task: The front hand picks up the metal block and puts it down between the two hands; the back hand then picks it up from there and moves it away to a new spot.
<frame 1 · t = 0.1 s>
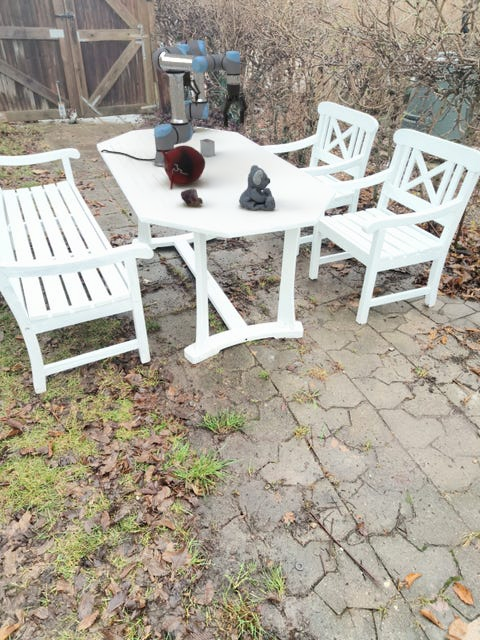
front hand: (234, 125, 259), 28 cm above the table, tool pointing down, fingers open, 13 cm apart
back hand: (186, 105, 314), 28 cm above the table, tool pointing down, fingers open, 13 cm apart
block: (207, 154, 312), on the table
red pot: (185, 182, 262), on the table
koala plush: (256, 206, 229), on the table
rock: (191, 204, 231), on the table
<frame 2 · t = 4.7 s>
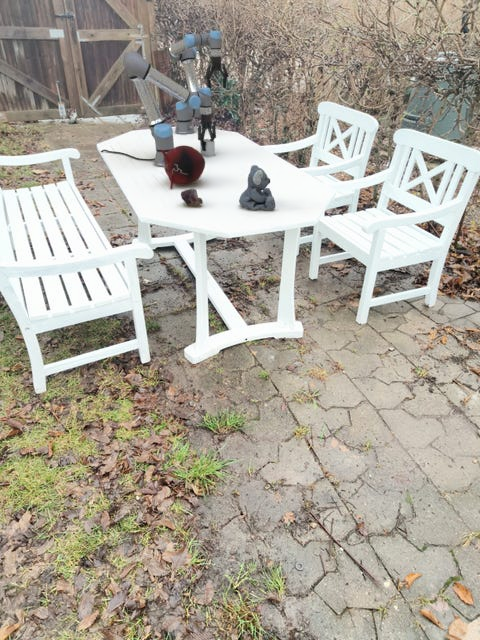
front hand: (207, 149, 310), 3 cm above the table, tool pointing down, fingers closed on block, 6 cm apart
back hand: (217, 89, 336), 34 cm above the table, tool pointing down, fingers open, 13 cm apart
block: (207, 154, 312), on the table, touching front hand
everything else where it was.
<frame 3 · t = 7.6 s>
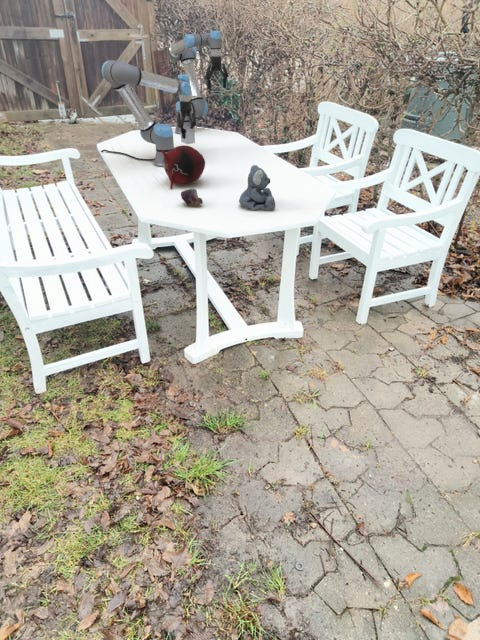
front hand: (187, 137, 312), 10 cm above the table, tool pointing down, fingers closed on block, 6 cm apart
back hand: (217, 89, 336), 34 cm above the table, tool pointing down, fingers open, 13 cm apart
block: (188, 142, 314), point 7 cm above the table, touching front hand
everything else where it was.
when the front hand's fingers open (5 cm above the table, at t = 10.5 s): block drops 1 cm, on the table.
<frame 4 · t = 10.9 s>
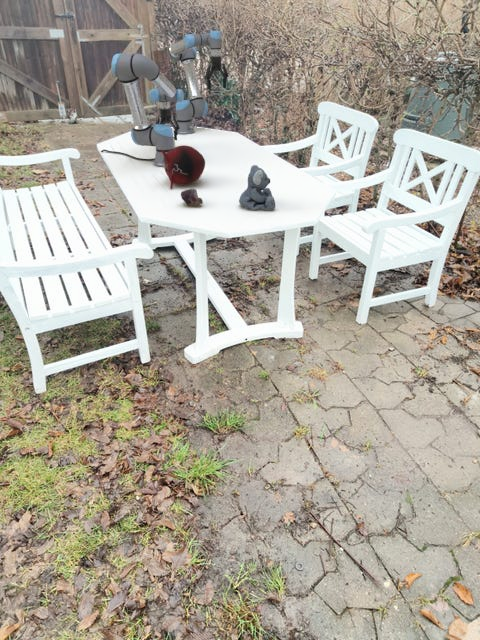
front hand: (168, 141, 320), 6 cm above the table, tool pointing down, fingers open, 12 cm apart
back hand: (217, 89, 336), 34 cm above the table, tool pointing down, fingers open, 13 cm apart
block: (168, 150, 323), on the table
everything else where it was.
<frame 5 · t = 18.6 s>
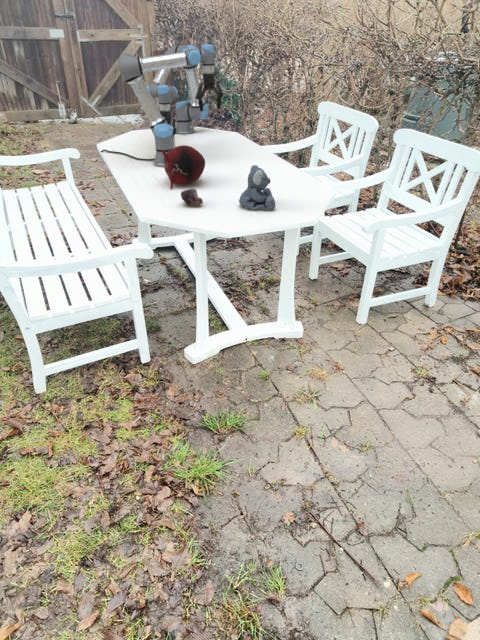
front hand: (210, 109, 294), 29 cm above the table, tool pointing down, fingers open, 13 cm apart
back hand: (168, 145, 321), 3 cm above the table, tool pointing down, fingers closed on block, 6 cm apart
block: (168, 150, 323), on the table, touching back hand
everything else where it was.
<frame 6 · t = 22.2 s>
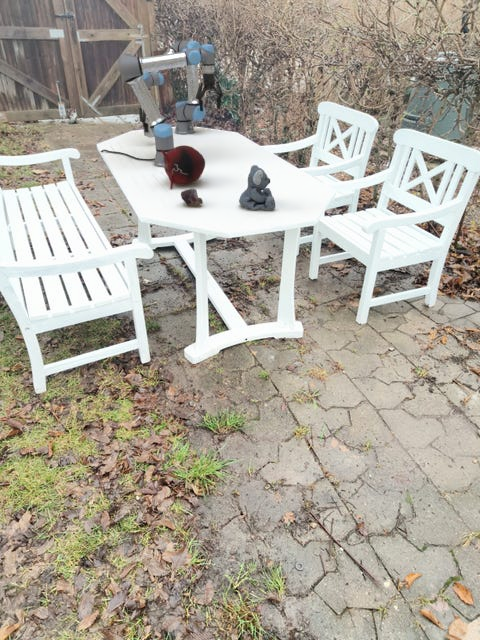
front hand: (210, 109, 294), 29 cm above the table, tool pointing down, fingers open, 13 cm apart
back hand: (150, 131, 330), 10 cm above the table, tool pointing down, fingers closed on block, 6 cm apart
block: (150, 136, 332), point 7 cm above the table, touching back hand
everything else where it was.
when the back hand's fingers open (5 cm above the table, at t = 26.0 s): block drops 1 cm, on the table.
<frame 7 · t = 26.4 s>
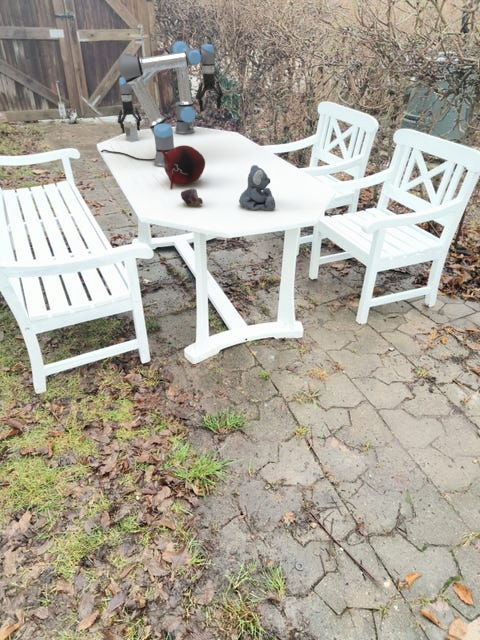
front hand: (210, 109, 294), 29 cm above the table, tool pointing down, fingers open, 13 cm apart
back hand: (131, 131, 347), 6 cm above the table, tool pointing down, fingers open, 12 cm apart
block: (132, 140, 350), on the table
everything else where it was.
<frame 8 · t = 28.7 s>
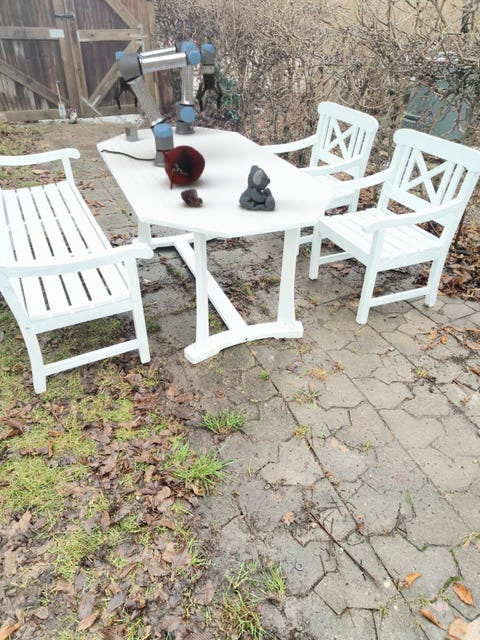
front hand: (210, 109, 294), 29 cm above the table, tool pointing down, fingers open, 13 cm apart
back hand: (128, 108, 337), 23 cm above the table, tool pointing down, fingers open, 13 cm apart
nothing on the table moved.
at the end: block inside the target area (0.1 cm from its centre), on the table; block tilted 0°; the two hands never held the block at the same time; the front hand is holding nothing; the back hand is holding nothing; block at rest at the end (0.0 cm/s) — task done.
